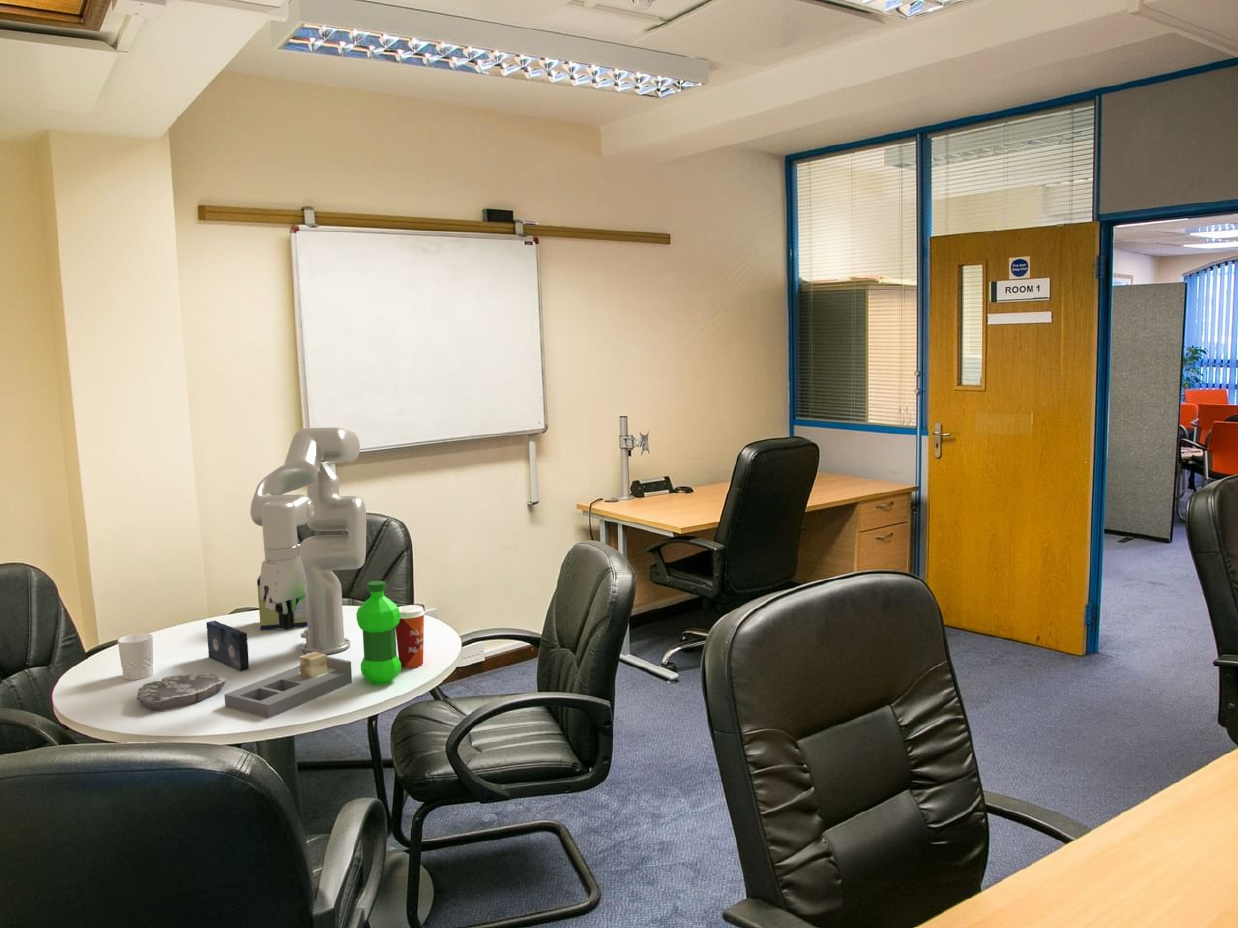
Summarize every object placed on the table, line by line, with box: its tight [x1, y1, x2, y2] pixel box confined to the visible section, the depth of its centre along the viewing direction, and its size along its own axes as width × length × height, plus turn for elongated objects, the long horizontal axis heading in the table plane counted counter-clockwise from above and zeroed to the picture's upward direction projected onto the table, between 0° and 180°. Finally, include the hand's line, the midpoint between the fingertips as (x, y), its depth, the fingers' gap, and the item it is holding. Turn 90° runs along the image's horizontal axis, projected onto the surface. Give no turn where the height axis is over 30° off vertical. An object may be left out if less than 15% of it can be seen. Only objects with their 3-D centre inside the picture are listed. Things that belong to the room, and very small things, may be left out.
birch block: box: [299, 652, 328, 678], centre depth 227 cm, size 4×4×4 cm
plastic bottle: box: [355, 580, 402, 686], centre depth 228 cm, size 10×10×25 cm
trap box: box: [224, 653, 353, 719], centre depth 222 cm, size 15×25×6 cm, turn 150°
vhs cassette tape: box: [205, 620, 250, 672], centre depth 245 cm, size 18×3×10 cm, turn 47°
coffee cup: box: [395, 604, 426, 669], centre depth 241 cm, size 8×8×15 cm
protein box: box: [256, 575, 307, 631], centre depth 281 cm, size 10×16×16 cm
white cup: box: [117, 632, 154, 681], centre depth 237 cm, size 8×8×10 cm
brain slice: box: [136, 673, 226, 712], centre depth 222 cm, size 20×17×3 cm
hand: (287, 627), depth 221 cm, fingers closed
